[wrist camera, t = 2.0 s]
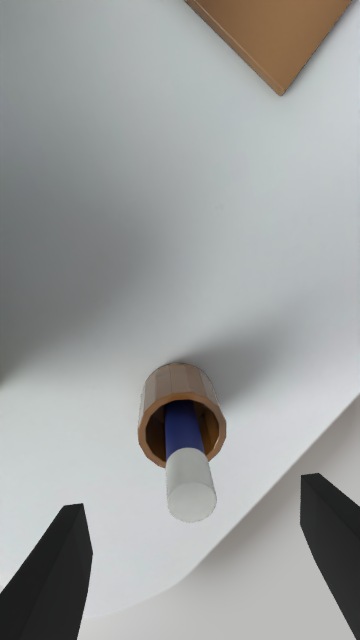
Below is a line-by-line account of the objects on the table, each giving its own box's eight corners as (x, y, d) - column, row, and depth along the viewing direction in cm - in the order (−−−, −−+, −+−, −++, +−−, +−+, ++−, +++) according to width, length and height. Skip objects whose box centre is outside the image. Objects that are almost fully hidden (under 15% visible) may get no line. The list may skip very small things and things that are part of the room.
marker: (192, 384, 19) (216, 479, 11) (193, 411, 20) (216, 520, 12) (162, 386, 19) (165, 483, 11) (163, 413, 19) (168, 525, 12)
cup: (212, 360, 19) (226, 390, 15) (213, 425, 20) (226, 467, 17) (139, 364, 19) (135, 395, 15) (143, 429, 20) (140, 474, 16)
